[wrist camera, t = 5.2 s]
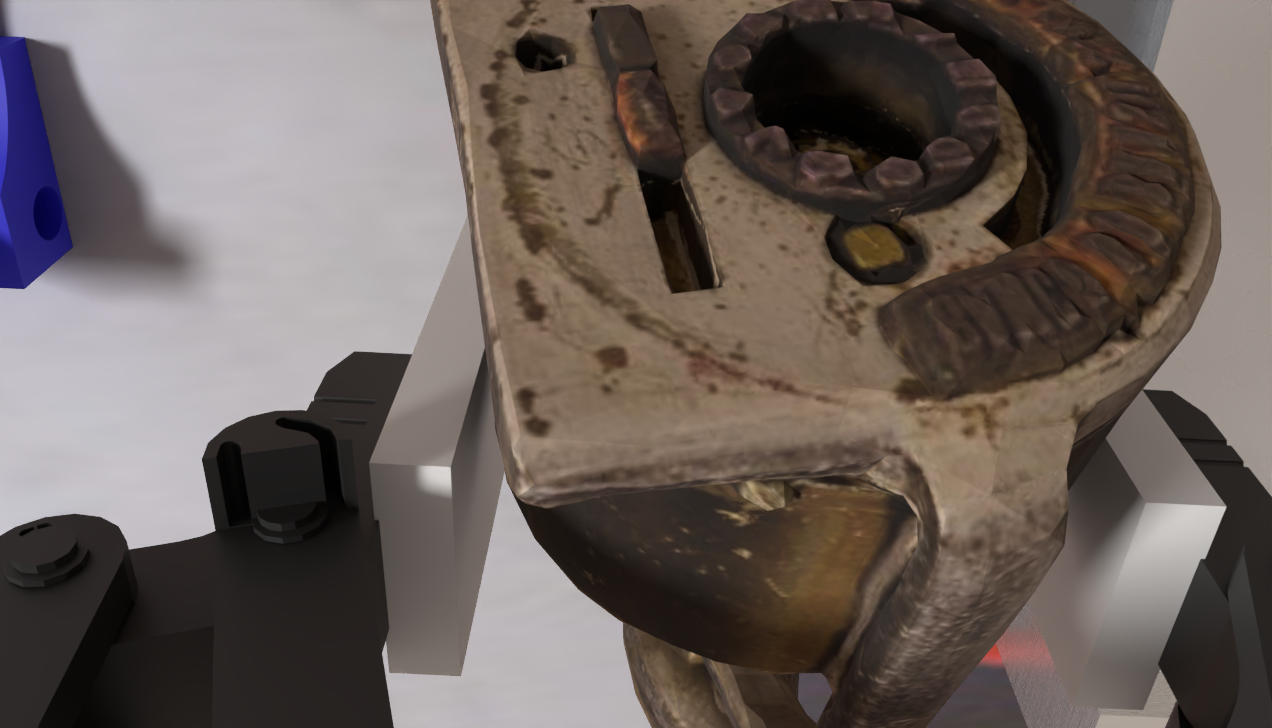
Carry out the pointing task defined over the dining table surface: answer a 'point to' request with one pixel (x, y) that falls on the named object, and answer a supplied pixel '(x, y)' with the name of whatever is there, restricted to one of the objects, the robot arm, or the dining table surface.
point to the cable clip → (26, 176)
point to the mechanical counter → (814, 319)
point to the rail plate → (1237, 300)
